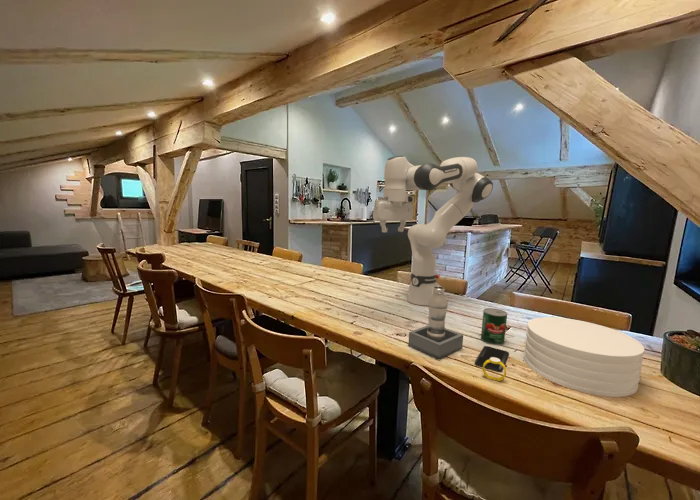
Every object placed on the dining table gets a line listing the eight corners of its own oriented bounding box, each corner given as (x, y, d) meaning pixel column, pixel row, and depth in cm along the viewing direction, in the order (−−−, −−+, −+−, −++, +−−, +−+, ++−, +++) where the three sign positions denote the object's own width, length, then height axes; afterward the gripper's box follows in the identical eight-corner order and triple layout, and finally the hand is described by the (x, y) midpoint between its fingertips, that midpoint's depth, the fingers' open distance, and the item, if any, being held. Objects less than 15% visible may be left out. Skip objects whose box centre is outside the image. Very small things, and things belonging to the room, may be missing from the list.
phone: (509, 352, 104) (501, 370, 92) (509, 355, 104) (501, 374, 92) (484, 345, 108) (473, 362, 96) (484, 348, 109) (473, 365, 96)
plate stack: (637, 369, 97) (643, 334, 95) (638, 412, 76) (646, 367, 74) (534, 341, 115) (538, 311, 113) (513, 369, 94) (517, 333, 93)
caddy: (432, 336, 116) (433, 323, 116) (462, 348, 107) (463, 334, 106) (408, 345, 108) (409, 331, 107) (438, 360, 99) (439, 345, 98)
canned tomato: (490, 346, 109) (493, 316, 108) (476, 337, 117) (478, 308, 115) (509, 344, 112) (512, 314, 110) (493, 335, 119) (496, 307, 117)
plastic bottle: (444, 341, 110) (448, 286, 107) (445, 349, 103) (449, 291, 101) (426, 339, 112) (429, 284, 109) (425, 347, 105) (428, 289, 102)
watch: (482, 379, 89) (482, 359, 88) (483, 374, 91) (483, 355, 91) (505, 384, 86) (506, 363, 85) (506, 379, 88) (506, 359, 88)
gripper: (381, 196, 116) (379, 233, 118) (416, 198, 129) (414, 231, 131) (369, 196, 121) (368, 232, 123) (405, 198, 134) (403, 230, 136)
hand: (392, 232), depth 127 cm, fingers open, 8 cm apart
